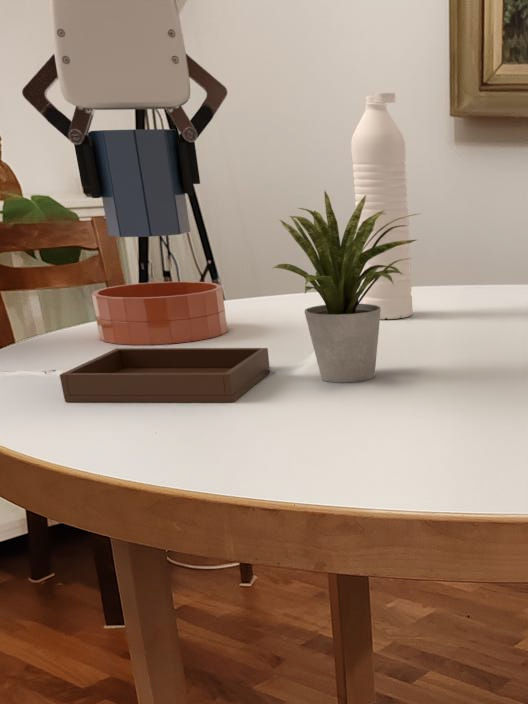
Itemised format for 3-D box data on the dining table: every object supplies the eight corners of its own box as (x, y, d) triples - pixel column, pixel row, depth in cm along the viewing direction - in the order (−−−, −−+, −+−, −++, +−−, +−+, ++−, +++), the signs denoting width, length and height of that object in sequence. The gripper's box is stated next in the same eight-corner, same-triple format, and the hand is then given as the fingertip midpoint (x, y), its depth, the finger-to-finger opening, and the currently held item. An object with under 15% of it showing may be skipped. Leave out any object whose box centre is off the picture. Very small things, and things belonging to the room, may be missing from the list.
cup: (98, 237, 83) (79, 130, 79) (128, 231, 88) (112, 131, 85) (172, 236, 82) (156, 128, 79) (197, 230, 88) (184, 129, 84)
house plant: (394, 400, 85) (383, 193, 78) (248, 393, 88) (223, 194, 81) (439, 366, 97) (433, 185, 90) (310, 362, 101) (293, 187, 93)
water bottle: (357, 314, 129) (342, 96, 117) (405, 310, 130) (395, 96, 119) (373, 324, 121) (358, 92, 110) (423, 320, 123) (414, 92, 112)
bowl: (80, 350, 109) (70, 298, 106) (130, 328, 121) (122, 281, 119) (205, 350, 108) (198, 297, 105) (243, 328, 120) (237, 280, 118)
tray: (64, 402, 87) (59, 374, 85) (120, 373, 97) (116, 348, 96) (233, 402, 85) (229, 374, 84) (270, 372, 96) (267, 347, 95)
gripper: (216, -46, 81) (244, 191, 89) (-10, -51, 77) (40, 197, 85) (220, -63, 75) (249, 194, 83) (-27, -69, 71) (29, 201, 79)
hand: (143, 193), depth 84 cm, fingers closed on cup, 6 cm apart
